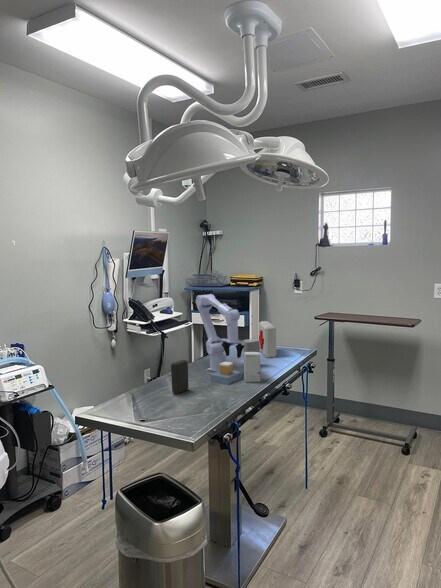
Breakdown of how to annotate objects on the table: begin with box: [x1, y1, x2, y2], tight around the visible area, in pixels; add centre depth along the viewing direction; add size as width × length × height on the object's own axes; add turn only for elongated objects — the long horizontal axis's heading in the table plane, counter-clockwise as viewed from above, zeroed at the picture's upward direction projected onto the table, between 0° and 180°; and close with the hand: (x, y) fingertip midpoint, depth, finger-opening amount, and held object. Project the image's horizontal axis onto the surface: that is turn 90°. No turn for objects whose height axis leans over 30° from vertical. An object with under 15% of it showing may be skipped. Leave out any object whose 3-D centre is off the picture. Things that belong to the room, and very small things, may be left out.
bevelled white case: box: [258, 320, 277, 359], centre depth 282 cm, size 21×8×20 cm, turn 6°
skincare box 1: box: [242, 338, 261, 354], centre depth 255 cm, size 8×7×16 cm
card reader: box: [170, 359, 189, 395], centre depth 214 cm, size 9×4×15 cm, turn 145°
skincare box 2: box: [243, 352, 262, 383], centre depth 229 cm, size 8×6×15 cm
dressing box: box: [210, 370, 243, 386], centre depth 231 cm, size 13×11×4 cm
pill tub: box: [219, 361, 234, 375], centre depth 231 cm, size 5×5×6 cm
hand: (233, 356), depth 238 cm, fingers open, 7 cm apart
